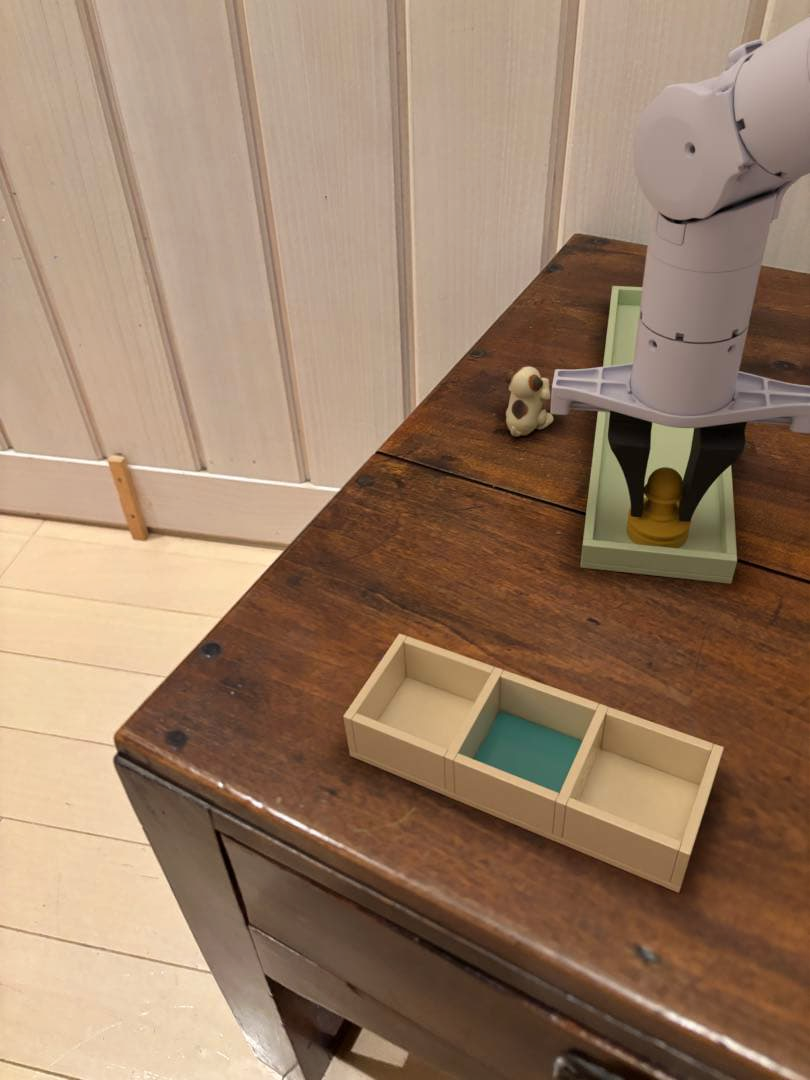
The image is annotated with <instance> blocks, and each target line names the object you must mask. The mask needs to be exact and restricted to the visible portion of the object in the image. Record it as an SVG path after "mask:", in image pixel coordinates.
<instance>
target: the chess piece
mask: <svg viewBox="0 0 810 1080" xmlns="http://www.w3.org/2000/svg"><path fill="white" fill-rule="evenodd" d="M682 489H683V480H682V477H681V475H680V474H679V473H678V472H677V471H676V470H674V469H672V468H669V467H662V468H659V469H657V470H655V471H654V472H652V474H651V475H650V476H649V479H648V482H647V484H646V485H645V487H644V494H645V496H646V497H647V498H644V506H643V513H642V517H632V516H631V515H630V514H631V507H630V509H629V512H628V522H627V529H626V530H627V534H628V536H629V538H630V539H631V541H632V542H634V543H635V544H638V545H648V546H658V547H668V548H680V547H681V546H682V545H684V543H685V542H686V540H687V538H688V533H689V527H690V524H691V521H690V522H684V521H679V501H680V500H681V499H682V498H683V490H682Z"/></svg>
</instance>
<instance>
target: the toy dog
mask: <svg viewBox="0 0 810 1080" xmlns="http://www.w3.org/2000/svg"><path fill="white" fill-rule="evenodd" d="M504 380H505V383H506V384H507V385H508V390H509V392H510V397H509V400H508V406H507V409H506V411H505V417H506V418H505V422H506V426H507V428H508V430H509V431H510V434H511V435H512V436H513V437H521V436H528V435H529V434H531V433H532V432H533V431H535V429H536V430H543V429H546V428H547V427H548V426H550V425H551V424H552V423H553V422H554V416H553V414H551V413H550V412H547V410H546V409H545V408H544V409H543V405H544V400H547V401H548V400H551V391H550V380H549V378H547V377H541V374H540V371H539V370H538V369H537V368H535V367H533V366H532V365H530V366H518V367H517V368H515V369H513V370H509V371H507V373H506V375H505V379H504Z"/></svg>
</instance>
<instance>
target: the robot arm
mask: <svg viewBox="0 0 810 1080" xmlns="http://www.w3.org/2000/svg"><path fill="white" fill-rule="evenodd" d="M727 61H728V66H727V67H726V68H725V69H724V70H723V71H722V72H721V74H720V75H718V76H714V77H711V78H707V79H704V80H700V81H697V82H694V83H693V82H681V83H675V84H671V85H667V86H665V87H664V88H663V89H661V91H660V93H659V94H658V96H657V97H656V98H655V99H653V100H652V101H651V102H650V103H649V104H648V105H647V107H645V109H644V111H643V112H642V114H641V116H640V118H639V119H638V123H637V125H636V129H635V132H634V137H633V149H632V153H633V154H632V156H633V157H632V158H633V165H634V171H635V176H636V178H637V182H638V184H639V187H640V189H641V191H642V194H643V195H644V197H645V198H646V200H647V201H648V202H649V204H650V205H651V206H652V208H651V214H650V223H649V231H648V239H647V240H648V241H647V248H646V254H645V255H646V256H645V263H644V271H643V278H642V279H643V280H642V286H641V287H642V294H641V302H640V310H639V319H638V327H637V336H636V344H635V352H634V360H633V363H629V364H621V365H613V366H605V367H603V366H597V367H591V368H590V367H589V368H578V369H564V368H563V369H562V368H561V369H560V368H556V369H554V373H553V378H552V385H551V392H550V412H549V413H550V414H551V415H558V416H567V415H569V414H570V411H571V410H575V411H588V412H598V411H601V412H610V417H609V427H608V441H609V444H610V448H611V450H612V452H613V453H614V455H615V457H616V458H617V460H618V462H619V464H620V466H621V469H622V471H623V474H624V477H625V480H626V483H627V487H628V491H629V496H630V503H631V514H630V515H631V516H632V517H642V513H643V506H644V484H645V475H646V469H647V464H648V459H649V454H650V447H651V430H652V422H653V423H656V424H660V425H664V426H668V427H675V428H694V432H693V439H692V445H691V451H690V456H689V460H688V463H687V467H686V471H685V474H684V478H683V489H682V490H683V498H682V499H681V500H680V501H679V521H684V522H690V521H691V519H692V516H693V514H694V512H695V510H696V508H697V506H698V504H699V502H700V501H701V499H702V497H703V496H704V495H705V493H706V492H707V490H708V489H709V487H710V486H711V485H712V484H713V482H714V481H715V480H716V479H717V478H718V477H719V476H720V475H721V474H722V473H723V472H724V471H725V470H726V469H727V468H728V467H729V466H731V467H732V465H734V464H735V463H736V462H737V461H739V459H740V457H741V456H742V454H743V452H744V449H745V446H746V427H747V423H753V424H766V425H777V426H778V425H779V426H789V429H790V431H791V432H792V433H796V434H797V433H798V434H810V385H806V384H798V383H790V382H785V381H781V380H776V379H773V378H769V377H765V376H761V375H757V374H754V373H753V374H752V373H749V372H744V371H741V370H740V367H741V364H742V363H741V362H742V358H743V353H744V349H745V344H746V340H747V335H748V331H749V326H750V320H751V315H752V310H753V306H754V301H755V297H756V292H757V287H758V282H759V278H760V273H761V269H762V264H763V259H764V254H765V252H766V251H765V250H766V246H767V241H768V237H769V231H770V228H771V224H772V223H773V221H775V220H777V219H779V215H780V211H781V206H782V202H783V199H784V196H785V195H786V193H787V191H788V190H789V189H790V187H791V186H792V185H794V184H795V183H796V182H797V181H799V180H800V179H801V178H803V177H805V176H807V175H809V174H810V16H808V17H806V18H805V19H803V20H802V21H800V22H798V23H797V24H795V25H793V26H791V27H790V28H788V29H786V30H785V31H783V32H781V33H780V34H778V35H777V36H775V37H773V38H772V39H770V40H769V41H767V42H764V41H763V40H762V39H759V38H758V39H755V40H752V41H748V42H745V43H742V44H740V45H739V46H738V47H736V48H735V49H733V50H731V51H730V52H729V53H728V56H727Z"/></svg>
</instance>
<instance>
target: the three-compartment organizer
mask: <svg viewBox="0 0 810 1080" xmlns="http://www.w3.org/2000/svg"><path fill="white" fill-rule="evenodd" d="M342 717H343V718H342V719H343V723H344V724H343V725H344V729H345V730H344V731H345V734H346V735H345V736H346V741H347V747H348V750H349V752H348V753H349V756H350V757H351V758H354V759H356V760H359V761H360V762H361V761H362V762H364V763H366V764H367V765H371V766H373V767H376V768H378V769H380V770H382V771H385V772H388V773H390V774H392V775H395V776H396V777H400V778H402V779H405V780H406V781H410V782H412V783H414V784H417V785H418V786H421V787H423V788H426V789H428V790H431V791H432V792H436V793H438V794H441V795H443V796H445V797H447V798H450V799H452V800H455V801H457V802H459V803H461V804H465V805H467V806H469V807H472V808H474V809H477V810H479V811H481V812H483V813H486V814H488V815H490V816H493V817H496V818H498V819H501V820H503V821H505V822H507V823H510V824H512V825H515V826H517V827H520V828H522V829H524V830H527V831H529V832H531V833H534V834H536V835H539V836H541V837H543V838H546V839H549V840H551V841H553V842H556V843H558V844H561V845H562V846H565V847H568V848H570V849H572V850H575V851H577V852H580V853H582V854H585V855H587V856H588V857H592V858H594V859H597V860H599V861H600V862H603V863H606V864H608V865H611V866H613V867H615V868H618V869H621V870H623V871H625V872H628V873H629V874H632V875H634V876H637V877H639V878H642V879H644V880H646V881H649V882H651V883H654V884H656V885H658V886H661V887H664V888H666V889H668V890H670V891H673V892H675V893H680V892H681V888H682V886H683V882H684V879H685V876H686V872H687V869H688V866H689V863H690V860H691V856H692V853H693V850H694V848H695V844H696V841H697V838H698V834H699V831H700V828H701V825H702V821H703V819H704V815H705V812H706V809H707V807H708V803H709V799H710V796H711V793H712V790H713V787H714V784H715V779H716V777H717V773H718V770H719V766H720V764H721V760H722V757H723V752H724V750H725V747H724V746H722V745H718V744H717V743H713V742H710V741H708V740H705V739H702V738H699V737H696V736H693V735H691V734H688V733H685V732H682V731H680V730H676V729H674V728H670V727H668V726H665V725H661V724H659V723H656V722H654V721H650V720H648V719H645V718H642V717H640V716H636V715H634V714H631V713H628V712H626V711H623V710H619V709H617V708H615V707H614V708H613V707H611V706H607V705H605V704H602V703H599V702H596V701H594V700H591V699H588V698H584V697H582V696H579V695H576V694H574V693H571V692H568V691H565V690H562V689H559V688H556V687H553V686H551V685H548V684H545V683H543V682H540V681H536V680H533V679H530V678H528V677H525V676H521V675H520V674H516V673H513V672H511V671H508V670H505V669H502V668H500V667H497V666H494V665H491V664H489V663H485V662H482V661H479V660H476V659H474V658H472V657H468V656H465V655H462V654H459V653H457V652H455V651H451V650H448V649H445V648H443V647H440V646H437V645H433V644H431V643H429V642H425V641H423V640H420V639H417V638H414V637H411V636H407V635H406V634H402V633H398V635H397V636H396V637H395V639H394V641H393V642H392V643H391V645H390V647H389V648H388V649H387V651H386V653H385V654H384V655H383V657H382V658H381V660H380V661H379V662H378V664H377V666H376V667H375V669H374V670H373V672H372V673H371V675H370V676H369V678H368V679H367V680H366V682H365V683H364V685H363V686H362V688H361V689H360V691H359V692H358V694H357V695H356V697H355V698H354V700H353V701H352V703H351V704H350V706H348V708H347V709H346V711H345V713H344V714H343V716H342Z"/></svg>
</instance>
